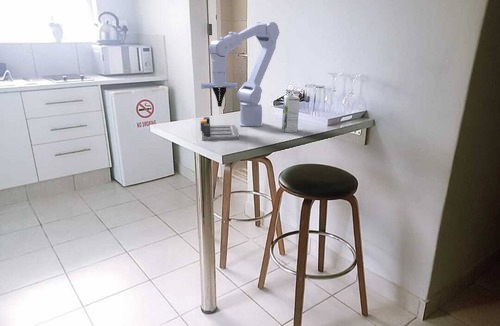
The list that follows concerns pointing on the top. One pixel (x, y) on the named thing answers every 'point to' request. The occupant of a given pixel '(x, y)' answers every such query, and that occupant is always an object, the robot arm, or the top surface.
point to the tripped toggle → (203, 121)
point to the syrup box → (290, 113)
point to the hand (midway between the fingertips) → (219, 106)
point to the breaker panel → (219, 132)
